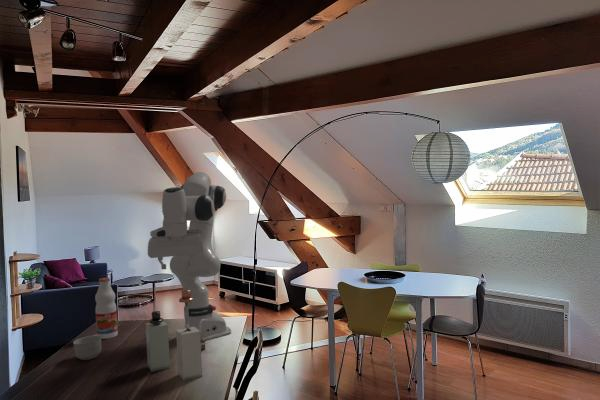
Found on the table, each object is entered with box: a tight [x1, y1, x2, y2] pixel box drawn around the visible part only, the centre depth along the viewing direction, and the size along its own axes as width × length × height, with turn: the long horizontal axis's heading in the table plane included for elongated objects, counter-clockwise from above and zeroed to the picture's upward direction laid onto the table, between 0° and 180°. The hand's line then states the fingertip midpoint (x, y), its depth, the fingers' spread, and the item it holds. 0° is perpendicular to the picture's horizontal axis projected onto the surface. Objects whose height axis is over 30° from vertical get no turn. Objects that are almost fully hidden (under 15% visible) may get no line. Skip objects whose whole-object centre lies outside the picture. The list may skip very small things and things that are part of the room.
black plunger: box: [148, 310, 164, 325], centre depth 192 cm, size 5×5×18 cm
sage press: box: [145, 320, 171, 373], centre depth 192 cm, size 7×7×17 cm
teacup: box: [72, 334, 103, 361], centre depth 208 cm, size 14×11×8 cm
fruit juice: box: [94, 277, 119, 340], centre depth 236 cm, size 9×9×28 cm
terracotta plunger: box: [178, 289, 194, 332], centre depth 182 cm, size 5×5×18 cm
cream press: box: [175, 327, 203, 382], centre depth 182 cm, size 7×7×17 cm
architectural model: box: [200, 333, 207, 350], centre depth 209 cm, size 3×7×7 cm, turn 119°
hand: (176, 267), depth 183 cm, fingers open, 8 cm apart
